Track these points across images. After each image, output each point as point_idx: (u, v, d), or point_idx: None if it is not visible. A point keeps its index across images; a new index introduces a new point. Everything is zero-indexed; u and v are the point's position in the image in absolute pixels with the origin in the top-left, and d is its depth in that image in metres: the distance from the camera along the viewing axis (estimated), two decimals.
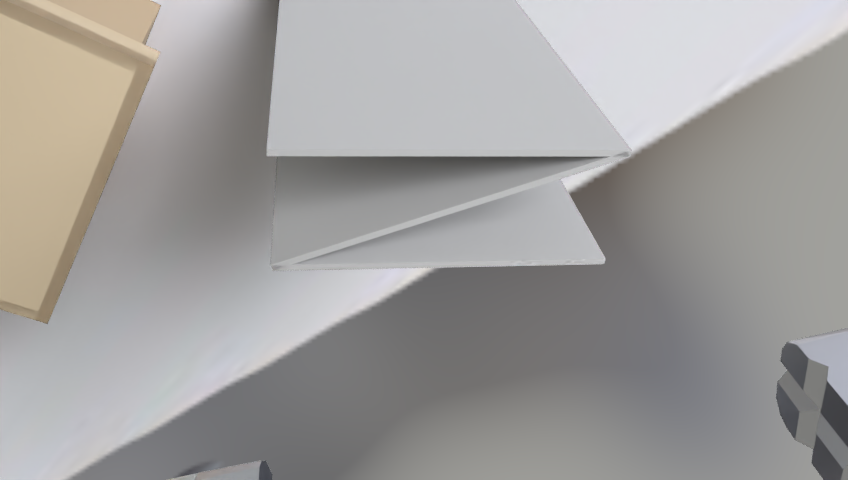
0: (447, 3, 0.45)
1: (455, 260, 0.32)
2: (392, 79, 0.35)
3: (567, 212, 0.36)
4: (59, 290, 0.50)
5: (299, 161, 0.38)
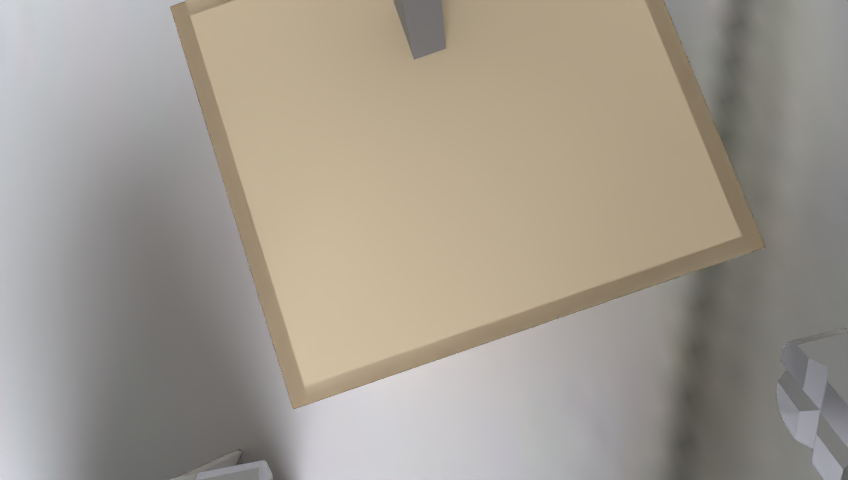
0: None
1: None
2: None
3: None
4: (189, 62, 0.37)
5: None
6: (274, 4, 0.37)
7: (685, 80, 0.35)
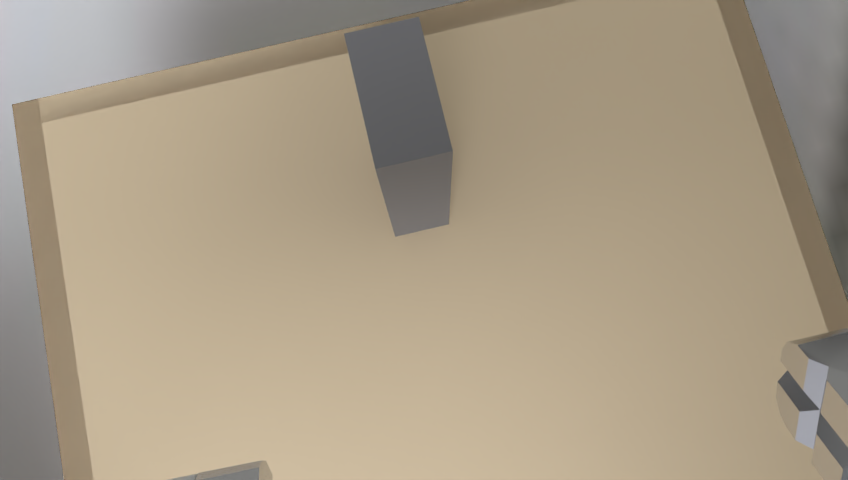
0: None
1: None
2: None
3: None
4: (28, 199, 0.23)
5: None
6: (180, 120, 0.23)
7: (837, 322, 0.21)
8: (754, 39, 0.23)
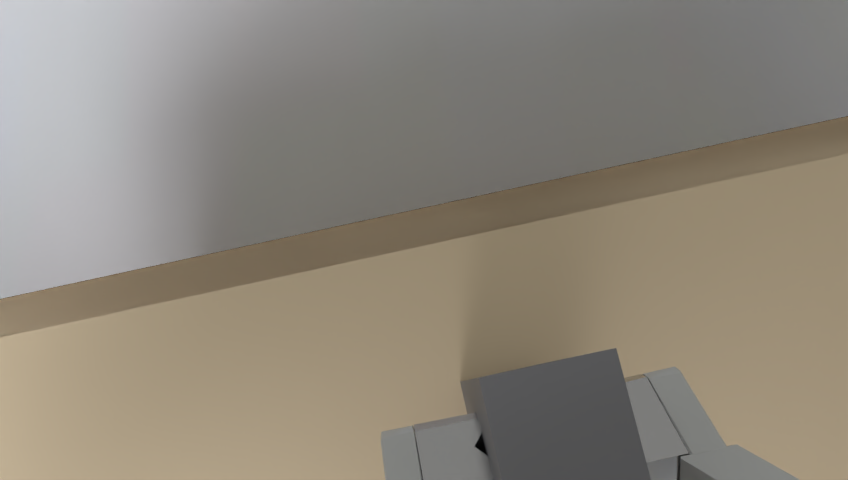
0: None
1: None
2: None
3: None
4: None
5: None
6: (178, 343, 0.16)
7: None
8: None
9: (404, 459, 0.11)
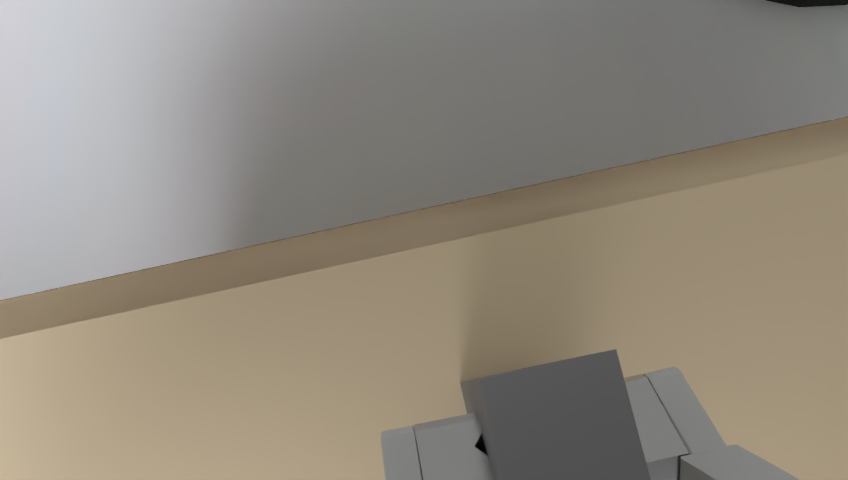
0: None
1: None
2: None
3: None
4: None
5: None
6: (178, 344, 0.16)
7: None
8: None
9: (404, 459, 0.11)
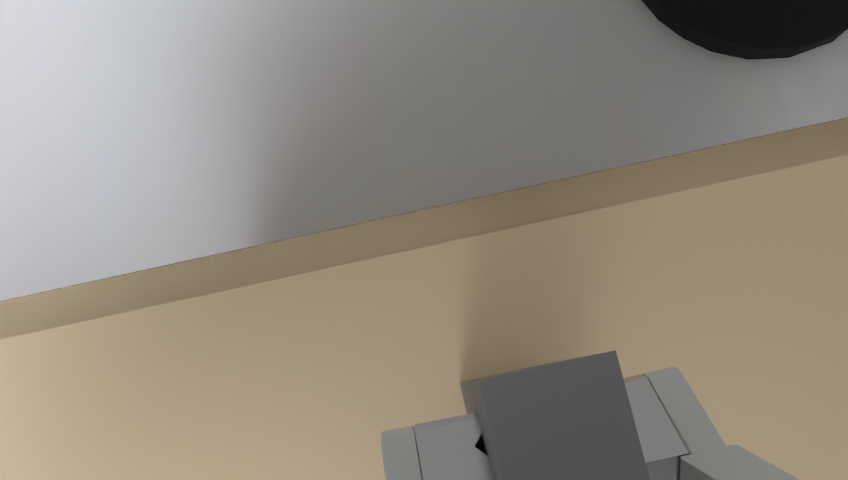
0: None
1: None
2: None
3: None
4: None
5: None
6: (178, 344, 0.16)
7: None
8: None
9: (404, 459, 0.11)
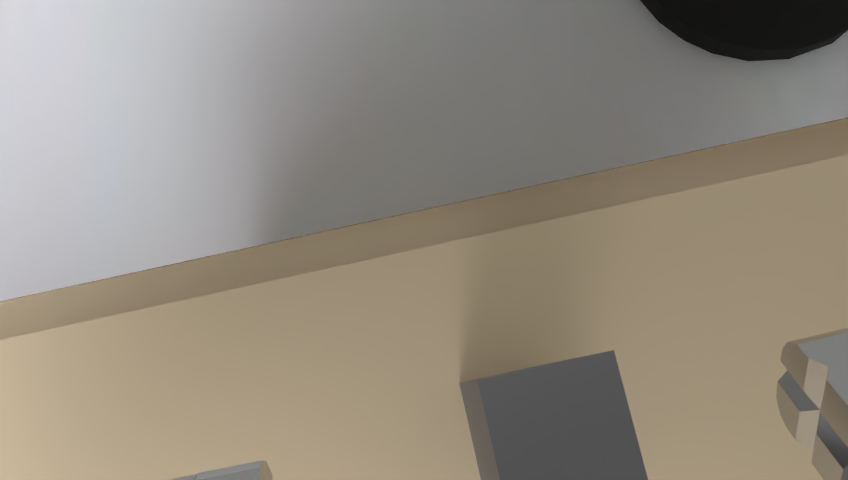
0: None
1: None
2: None
3: None
4: None
5: None
6: (178, 345, 0.16)
7: None
8: None
9: None
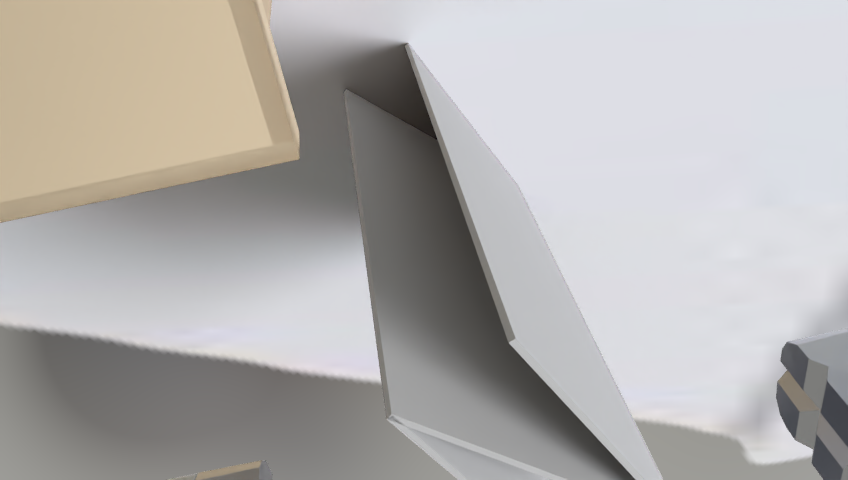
0: (524, 226, 0.46)
1: None
2: (540, 304, 0.34)
3: None
4: None
5: (395, 288, 0.34)
6: None
7: None
8: None
9: None
